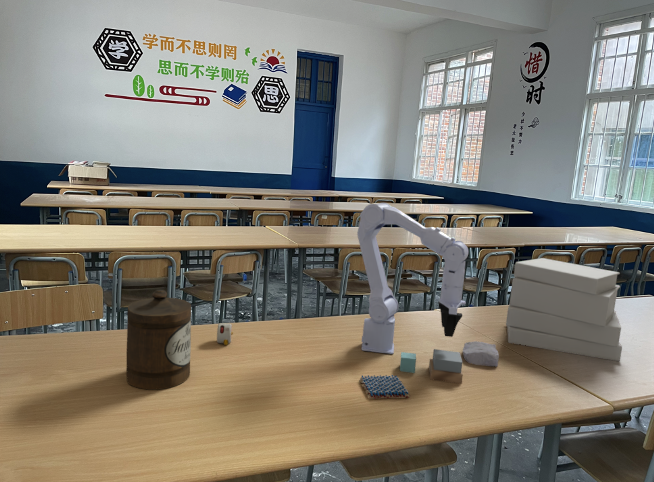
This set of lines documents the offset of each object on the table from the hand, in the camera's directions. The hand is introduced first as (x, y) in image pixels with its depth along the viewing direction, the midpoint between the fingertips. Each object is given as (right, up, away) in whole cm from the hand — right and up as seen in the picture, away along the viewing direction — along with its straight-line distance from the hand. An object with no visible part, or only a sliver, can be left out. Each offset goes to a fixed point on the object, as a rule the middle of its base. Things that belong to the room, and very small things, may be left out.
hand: (447, 331), depth 137 cm
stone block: (+11, -10, +8) cm, 17 cm away
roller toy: (-65, -5, +7) cm, 65 cm away
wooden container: (-76, -8, -17) cm, 78 cm away
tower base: (-2, -11, -6) cm, 13 cm away
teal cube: (-12, -10, -4) cm, 16 cm away
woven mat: (-20, -12, -16) cm, 29 cm away
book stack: (+44, -9, +27) cm, 53 cm away
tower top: (-2, -8, -6) cm, 11 cm away
